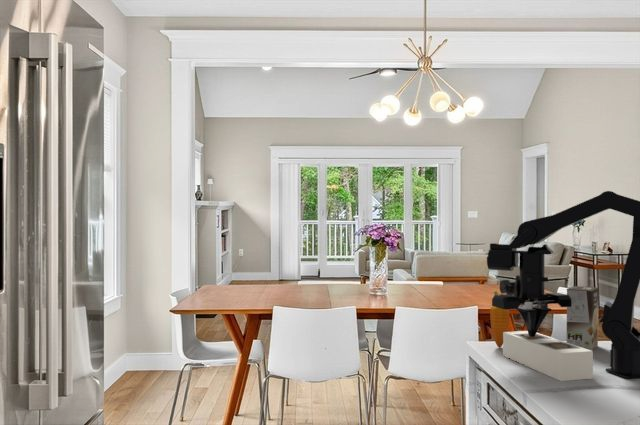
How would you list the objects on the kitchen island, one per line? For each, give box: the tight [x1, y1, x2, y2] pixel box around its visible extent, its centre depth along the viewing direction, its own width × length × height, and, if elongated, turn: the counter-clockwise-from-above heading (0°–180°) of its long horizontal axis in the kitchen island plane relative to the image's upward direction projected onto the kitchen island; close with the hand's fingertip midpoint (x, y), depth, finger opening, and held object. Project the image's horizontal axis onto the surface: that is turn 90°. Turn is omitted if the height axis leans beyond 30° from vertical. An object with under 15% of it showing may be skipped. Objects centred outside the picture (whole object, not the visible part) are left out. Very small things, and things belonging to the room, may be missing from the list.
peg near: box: [550, 344, 568, 349], centre depth 126 cm, size 4×4×6 cm
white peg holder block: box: [502, 330, 594, 382], centre depth 130 cm, size 22×8×6 cm, turn 14°
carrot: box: [489, 290, 510, 349], centre depth 149 cm, size 5×5×15 cm
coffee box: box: [566, 285, 599, 352], centre depth 149 cm, size 9×6×16 cm
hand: (531, 336), depth 135 cm, fingers closed, pressing on peg far
